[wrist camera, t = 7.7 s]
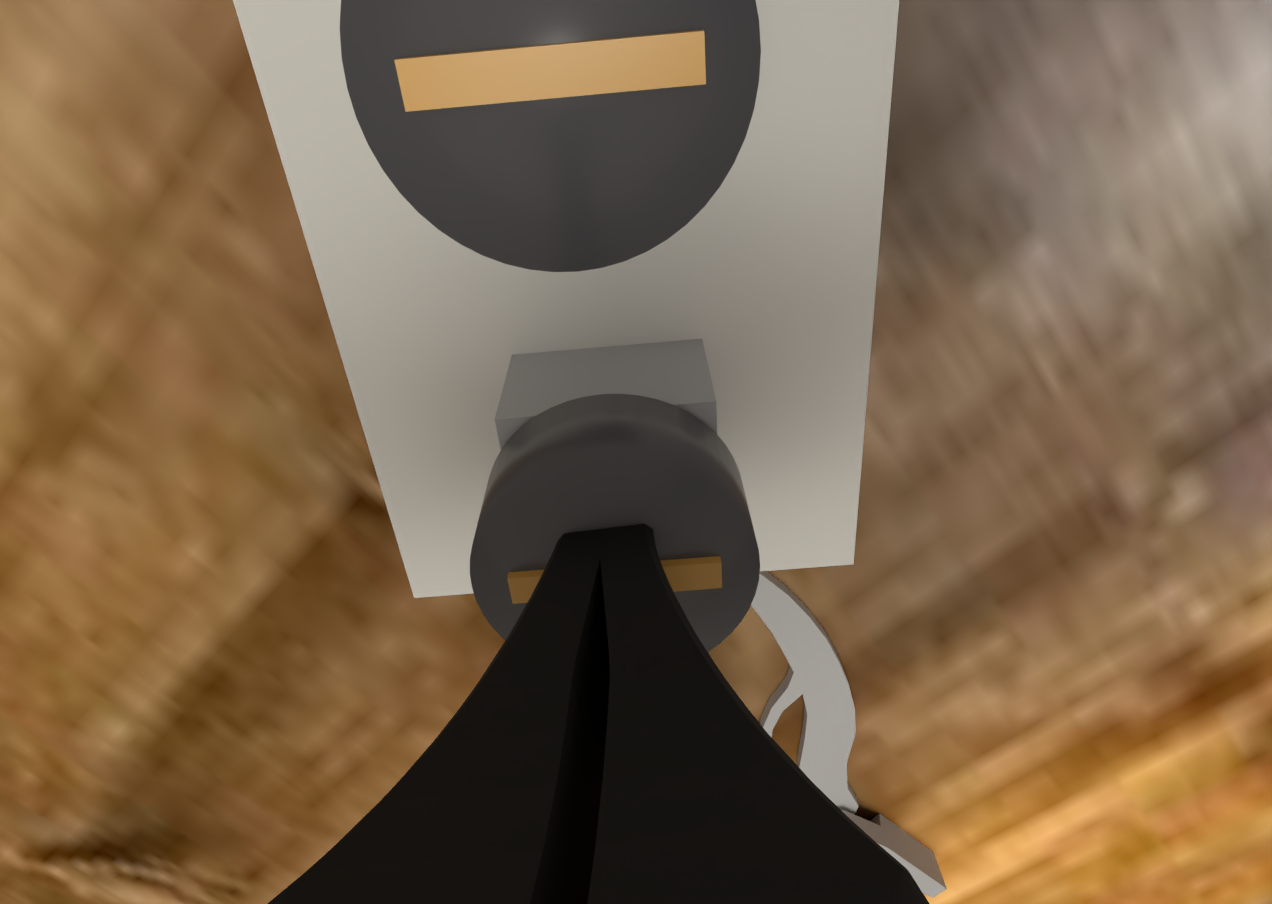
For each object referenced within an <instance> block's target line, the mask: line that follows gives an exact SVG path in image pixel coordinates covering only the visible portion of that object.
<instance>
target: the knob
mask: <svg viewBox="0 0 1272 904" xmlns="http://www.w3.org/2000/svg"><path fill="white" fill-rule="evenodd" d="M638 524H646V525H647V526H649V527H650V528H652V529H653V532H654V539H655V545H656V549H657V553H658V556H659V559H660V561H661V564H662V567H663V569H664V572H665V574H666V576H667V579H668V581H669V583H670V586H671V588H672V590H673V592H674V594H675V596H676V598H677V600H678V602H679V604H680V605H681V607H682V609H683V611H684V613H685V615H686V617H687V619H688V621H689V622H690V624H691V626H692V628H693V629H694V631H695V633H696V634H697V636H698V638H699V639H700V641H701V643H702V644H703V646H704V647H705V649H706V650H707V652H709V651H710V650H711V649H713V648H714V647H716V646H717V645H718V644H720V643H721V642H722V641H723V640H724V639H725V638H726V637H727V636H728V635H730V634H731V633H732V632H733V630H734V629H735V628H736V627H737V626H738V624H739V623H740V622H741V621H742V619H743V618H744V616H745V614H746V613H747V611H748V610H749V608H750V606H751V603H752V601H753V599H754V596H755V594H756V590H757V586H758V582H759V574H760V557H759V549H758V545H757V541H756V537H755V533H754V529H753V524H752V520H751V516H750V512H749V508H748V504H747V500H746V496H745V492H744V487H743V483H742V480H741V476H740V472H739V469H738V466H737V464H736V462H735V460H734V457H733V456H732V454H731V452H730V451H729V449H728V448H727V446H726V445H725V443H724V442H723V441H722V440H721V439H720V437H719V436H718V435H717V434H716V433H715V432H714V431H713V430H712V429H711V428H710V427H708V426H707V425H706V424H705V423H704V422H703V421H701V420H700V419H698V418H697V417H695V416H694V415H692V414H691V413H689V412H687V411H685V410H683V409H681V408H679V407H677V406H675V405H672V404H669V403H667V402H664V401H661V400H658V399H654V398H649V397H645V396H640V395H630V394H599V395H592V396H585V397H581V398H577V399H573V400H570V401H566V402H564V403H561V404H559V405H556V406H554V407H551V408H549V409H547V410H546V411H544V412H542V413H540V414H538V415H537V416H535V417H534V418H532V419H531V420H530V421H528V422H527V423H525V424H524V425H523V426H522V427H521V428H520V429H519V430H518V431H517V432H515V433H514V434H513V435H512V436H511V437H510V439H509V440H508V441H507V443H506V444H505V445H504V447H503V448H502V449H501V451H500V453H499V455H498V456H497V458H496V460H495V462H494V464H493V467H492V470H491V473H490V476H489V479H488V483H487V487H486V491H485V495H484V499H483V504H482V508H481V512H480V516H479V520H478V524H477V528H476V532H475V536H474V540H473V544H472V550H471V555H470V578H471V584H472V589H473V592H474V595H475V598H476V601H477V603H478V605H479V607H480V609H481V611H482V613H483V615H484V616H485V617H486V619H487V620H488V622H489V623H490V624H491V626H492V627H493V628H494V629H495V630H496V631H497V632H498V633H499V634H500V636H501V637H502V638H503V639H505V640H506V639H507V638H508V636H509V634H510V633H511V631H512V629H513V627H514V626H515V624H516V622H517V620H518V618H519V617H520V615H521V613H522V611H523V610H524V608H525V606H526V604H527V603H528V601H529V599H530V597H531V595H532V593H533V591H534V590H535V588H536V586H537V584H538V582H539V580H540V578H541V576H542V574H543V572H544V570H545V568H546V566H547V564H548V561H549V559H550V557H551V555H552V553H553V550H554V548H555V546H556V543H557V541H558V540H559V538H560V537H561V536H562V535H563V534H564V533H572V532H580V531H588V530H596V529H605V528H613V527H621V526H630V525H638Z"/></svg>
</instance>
